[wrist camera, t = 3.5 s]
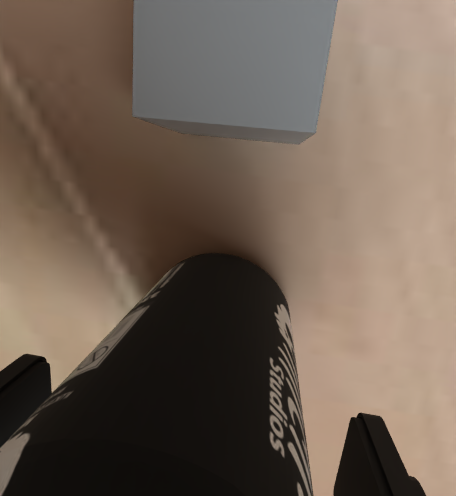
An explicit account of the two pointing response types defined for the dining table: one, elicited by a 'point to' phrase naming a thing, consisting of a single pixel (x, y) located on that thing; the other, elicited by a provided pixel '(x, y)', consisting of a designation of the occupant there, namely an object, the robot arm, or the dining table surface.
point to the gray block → (232, 66)
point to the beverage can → (176, 398)
